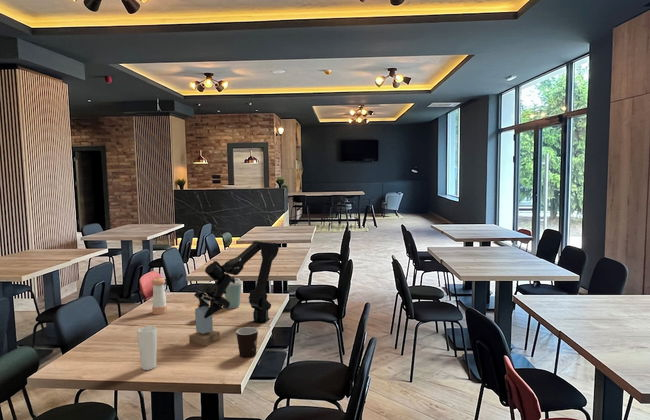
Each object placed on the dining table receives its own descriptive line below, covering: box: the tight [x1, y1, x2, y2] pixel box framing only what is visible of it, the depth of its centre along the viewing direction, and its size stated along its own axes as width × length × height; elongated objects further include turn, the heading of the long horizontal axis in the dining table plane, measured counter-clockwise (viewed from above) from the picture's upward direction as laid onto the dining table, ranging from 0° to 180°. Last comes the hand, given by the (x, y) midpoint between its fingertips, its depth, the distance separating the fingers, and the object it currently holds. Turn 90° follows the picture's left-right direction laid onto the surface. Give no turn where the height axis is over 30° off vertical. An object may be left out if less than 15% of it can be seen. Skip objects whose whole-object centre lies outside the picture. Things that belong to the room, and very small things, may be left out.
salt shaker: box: [150, 276, 168, 315], centre depth 234 cm, size 7×7×19 cm
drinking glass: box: [137, 325, 158, 371], centre depth 166 cm, size 7×7×15 cm
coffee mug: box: [235, 326, 259, 359], centre depth 178 cm, size 12×9×10 cm
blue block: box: [194, 306, 214, 334], centre depth 191 cm, size 5×5×10 cm
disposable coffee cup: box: [224, 277, 242, 309], centre depth 242 cm, size 11×11×15 cm
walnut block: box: [188, 329, 221, 348], centre depth 192 cm, size 9×9×4 cm
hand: (201, 316), depth 190 cm, fingers closed on blue block, 5 cm apart
